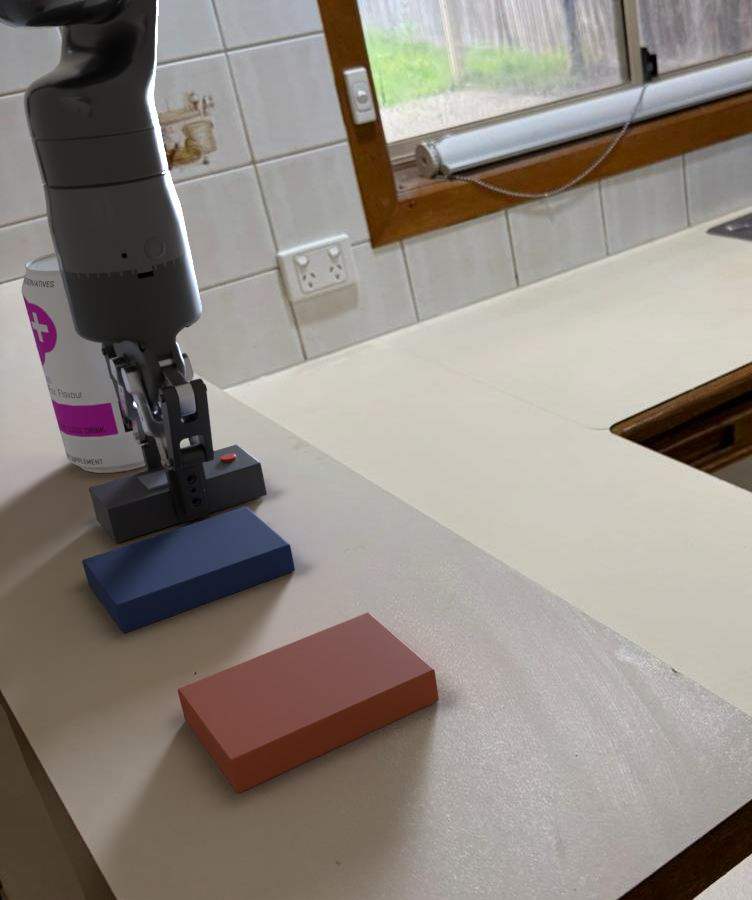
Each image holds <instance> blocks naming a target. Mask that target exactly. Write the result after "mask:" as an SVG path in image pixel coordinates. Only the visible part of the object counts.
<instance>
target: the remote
mask: <svg viewBox="0 0 752 900" xmlns="http://www.w3.org/2000/svg"><path fill="white" fill-rule="evenodd" d="M203 467H204V472H205V476H206V481H207V485H208V490H209V495H210V499H211V504H212V511H211V513H210V514H212V513H215V512H218V511H221V510H224V509H227V508H230V507H234V506H237V505H240V504H243V503H246V502H248V501H252V500H255V499H259V498H261V497H265V496H267V495H268V493H267V488H266V483H265V482H266V481H265V478H264V473H263V468H262V463H261V462H260V461H259V460H258V459H256V458H255V457H253V455H251V454H250V453H248V451H246V450H245V449H243V448H242V447H241V446H240V445H238V444H234V445H230V446H227V447H223V448H220V449H216V450H214V460H212V461H208V462H203ZM88 492H89V495H90V498H91V502H92V507H93V510H94V513H95V517H96V521H97V522H99V524H100V526H101V527H102V528H103V529H104V530H105V532H106V533H107V534H108V535H109V537H110V538H111V539H112V540H113V541H114V542H115V544H119V543H123V542H124V541H129V540H131V539H134V538H137V537H140V536H144V535H146V534H150V533H153V532H156V531H159V530H162V529H165V528H169V527H171V526H174V525H178V524H180V523H184V522H183V521H181V520H180V519H179V518H178V517H177V516H176V514H175V510H174V506H173V502H172V497H171V493H170V490H169V485H168V481H167V477H166V473H165V468H164V467H163V466H161V467H158V468H155V469H151V470H148V471H147V470H144V471H140V472H138V473H135V474H134V473H133V474H131V475H127V476H124V477H120V478H117V479H114V480H111V481H108V482H104V483H99V484H97V485H94V486H93V485H92V486H90V487H88Z"/></svg>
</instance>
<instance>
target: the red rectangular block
mask: <svg viewBox="0 0 752 900" xmlns="http://www.w3.org/2000/svg"><path fill="white" fill-rule="evenodd" d="M177 694H178V698H179V702H180V705H181V709H182V715H183V718H184V720H185V721H186V723H187V724H188V726H189V727H190V729H191V730H192V732H193V733H194V734H195V736H196V737H197V739H198V740H199V742H201V744H202V746H203V747H204V748H205V750H206V751H207V752H208V754H209V755H210V757H211V758H212V759H213V761H214V762H215V764H216V765H217V766H218V768H219V769H220V771H221V772H222V773H223V775H224V777H226V779H227V780H228V782H229V783H230V784H231V786H232V787H233V789H234V790H235V792H237V794H240V793H242V792H245V791H247V790H249V789H252V788H254V787H257V786H258V785H261V784H262V783H264V782H267V781H269V780H271V779H273V778H276V777H277V776H280V775H282V774H283V773H286V772H288V771H290V770H293V769H294V768H297V767H298V766H301V765H303V764H305V763H307V762H309V761H311V760H314V759H316V758H318V757H320V756H323V755H324V754H327V753H329V752H331V751H334V750H335V749H337V748H340V747H342V746H344V745H346V744H348V743H351V742H352V741H354V740H357V739H360V738H361V737H364V736H365V735H367V734H370V733H372V732H374V731H377V730H378V729H380V728H383V727H385V726H387V725H390V724H391V723H394V722H395V721H398V720H400V719H402V718H404V717H407V716H408V715H411V714H413V713H415V712H417V711H419V710H421V709H423V708H426V707H428V706H430V705H432V704H435V703H437V702H439V700H440V699H439V690H438V684H437V677H436V671H435V669H434V668H433V667H432V666H431V665H430V664H429V663H427V662H426V660H424V659H423V658H422V657H421V656H419V655H418V654H417V653H416V652H415V651H414V650H412V649H411V648H410V647H409V646H408V645H407V644H406V643H404V641H402V640H401V639H400V638H399V637H398V636H397V635H395V634H394V633H393V632H392V631H391V630H390V629H389V628H387V627H386V626H385V625H384V624H383V623H381V622H380V621H379V620H378V619H377V618H376V617H375V616H374V615H373V614H371V612H364V613H363V614H360V615H357V616H355V617H352V618H349V619H347V620H345V621H343V622H340V623H338V624H335V625H333V626H330V627H327V628H325V629H323V630H320V631H317V632H314V633H312V634H310V635H307V636H305V637H303V638H301V639H297V640H295V641H293V642H290V643H287V644H285V645H282V646H280V647H277V648H275V649H272V650H270V651H267V652H265V653H263V654H260V655H258V656H255V657H253V658H250V659H248V660H244V661H243V662H240V663H237V664H236V665H233V666H230V667H228V668H225V669H223V670H220V671H218V672H215V673H212V674H211V675H208V676H205V677H203V678H200V679H198V680H196V681H193V682H190V683H187V684H186V685H183V686H181V687H178V688H177Z"/></svg>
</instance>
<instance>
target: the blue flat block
mask: <svg viewBox="0 0 752 900" xmlns="http://www.w3.org/2000/svg"><path fill="white" fill-rule="evenodd" d="M81 562H82V566H83V569H84V574H85V577H86V580H87V585H88V587H89V588H90V590H91V591H92V592H93V593H94V595H95V596H96V598H97V599H98V600H99V602H100V604H101V605H102V606H103V608H104V609H105V610H106V612H107V613H108V615H109V616H110V617H111V619H112V620H113V621H114V623H115V624H116V626H117V627H118V628H119V630H120V631H121V633H122V634H126V633H129V632H132V631H135V630H137V629H140V628H143V627H145V626H149V625H151V624H154V623H157V622H160V621H162V620H165V619H167V618H171V617H173V616H176V615H178V614H181V613H184V612H186V611H189V610H192V609H195V608H197V607H201V606H203V605H206V604H208V603H211V602H214V601H216V600H219V599H221V598H225V597H227V596H230V595H233V594H236V593H238V592H241V591H244V590H246V589H249V588H252V587H255V586H258V585H260V584H263V583H266V582H269V581H271V580H274V579H276V578H279V577H282V576H284V575H288V574H290V573H293V572H295V571H296V568H295V564H294V563H295V562H294V557H293V552H292V546H291V544H290V543H289V542H288V541H287V540H285V539H284V538H283V537H282V536H281V535H280V534H279V533H278V532H276V531H275V530H274V529H273V528H272V527H271V526H269V525H268V524H267V523H266V522H265V521H264V520H263V519H261V517H259V516H258V515H257V514H256V513H255V512H254V511H252V510H251V509H250V508H249V507H247V506H243V507H240V508H236V509H233V510H230V511H227V512H225V513H221V514H218V515H215V516H212V517H209V518H206V519H203V520H199V521H196V522H194V523H191V524H188V525H185V526H181V527H179V528H175V529H172V530H170V531H166V532H163V533H159V534H157V535H154V536H150V537H147V538H145V539H142V540H138V541H136V542H131V543H129V544H126V545H123V546H120V547H117V548H114V549H111V550H108V551H105V552H102V553H99V554H96V555H93V556H90V557H87V558H84V559H82V560H81Z"/></svg>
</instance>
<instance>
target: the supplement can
mask: <svg viewBox="0 0 752 900" xmlns="http://www.w3.org/2000/svg"><path fill="white" fill-rule="evenodd" d="M24 273H25V274H24V276H23V281H22V283H21V294H22V298H23V301H24V305H25V309H26V312H27V315H28V316H27V317H28V321H29V323H30V327H31V331H32V334H33V337H34V341H35V345H36V349H37V352H38V357H39V360H40V363H41V367H42V371H43V374H44V375H43V376H44V378H45V382H46V385H47V389H48V393H49V397H50V401H51V403H52V408H53V411H54V415H55V419H56V421H57V425H58V430H59V433H60V437H61V441H62V443H63V444H62V445H63V448H64V452H65V455H66V459H67V460H68V461H69V462H70V463H72V464H73V465H75V466H77V467H79V468H81V469H82V470H84V472H85V471H86V472H91V473H97V474H105V473H106V474H107V473H110V474H111V473H113V474H114V473H120V472H126V471H127V472H128V471H132V470H135V469H136V470H137V469H139V468H144V467H146V466H145V461H144V457H143V453H142V449H141V446H142V445H144V444H141V445H138V443H137V442H136V441H135V440H134V437H133V428H130V429H129V428H128V427H127V425H126V424H124V421H123V414H122V411H121V407H120V404H119V401H118V398H117V395H116V391H115V388H114V385H113V382H112V379H111V376H110V372H109V369H108V366H107V363H106V360H105V356H103V354H102V351H101V348H102V343H97V342H92V341H88V340H86V339H83V338H82V337H80V336H79V335H78V334H77V332H76V331H75V328H74V324H73V320H72V316H71V312H70V308H69V304H68V300H67V296H66V292H65V289H64V285H63V281H62V277H61V273H60V269H59V265H58V262H57V258H56V254H55V252H51V253H47V254H44V255H43V254H42V255H41V256H38V257H36V258H33V259H30V260H29V261H28V262H26V263H25V272H24ZM133 399H134V398H133Z"/></svg>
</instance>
